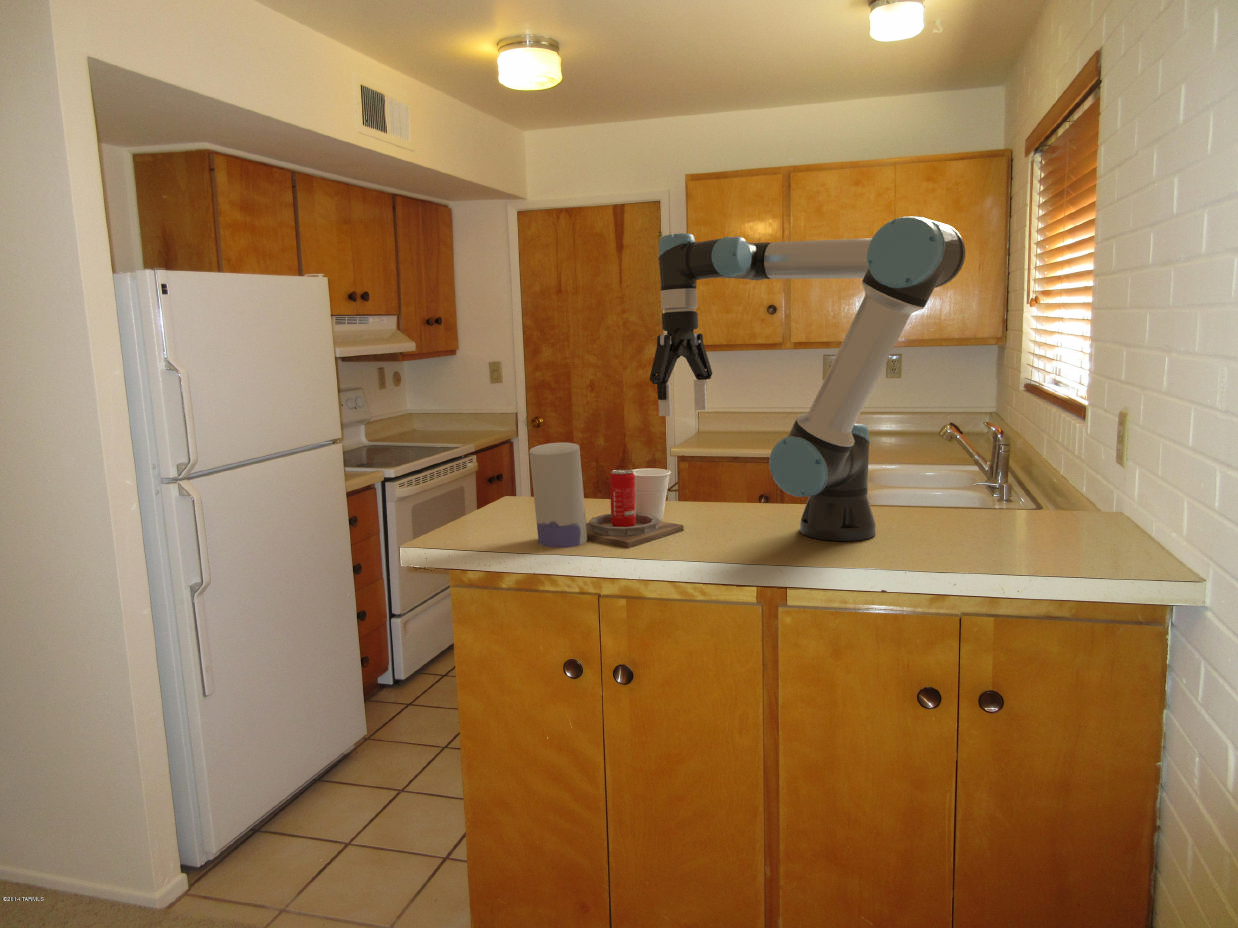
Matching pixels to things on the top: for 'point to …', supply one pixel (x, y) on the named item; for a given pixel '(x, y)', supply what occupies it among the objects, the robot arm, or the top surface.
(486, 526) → the top surface
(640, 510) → the cup
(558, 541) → the container
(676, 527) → the collar board
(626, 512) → the beverage can
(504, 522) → the top surface
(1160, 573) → the top surface
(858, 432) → the robot arm
